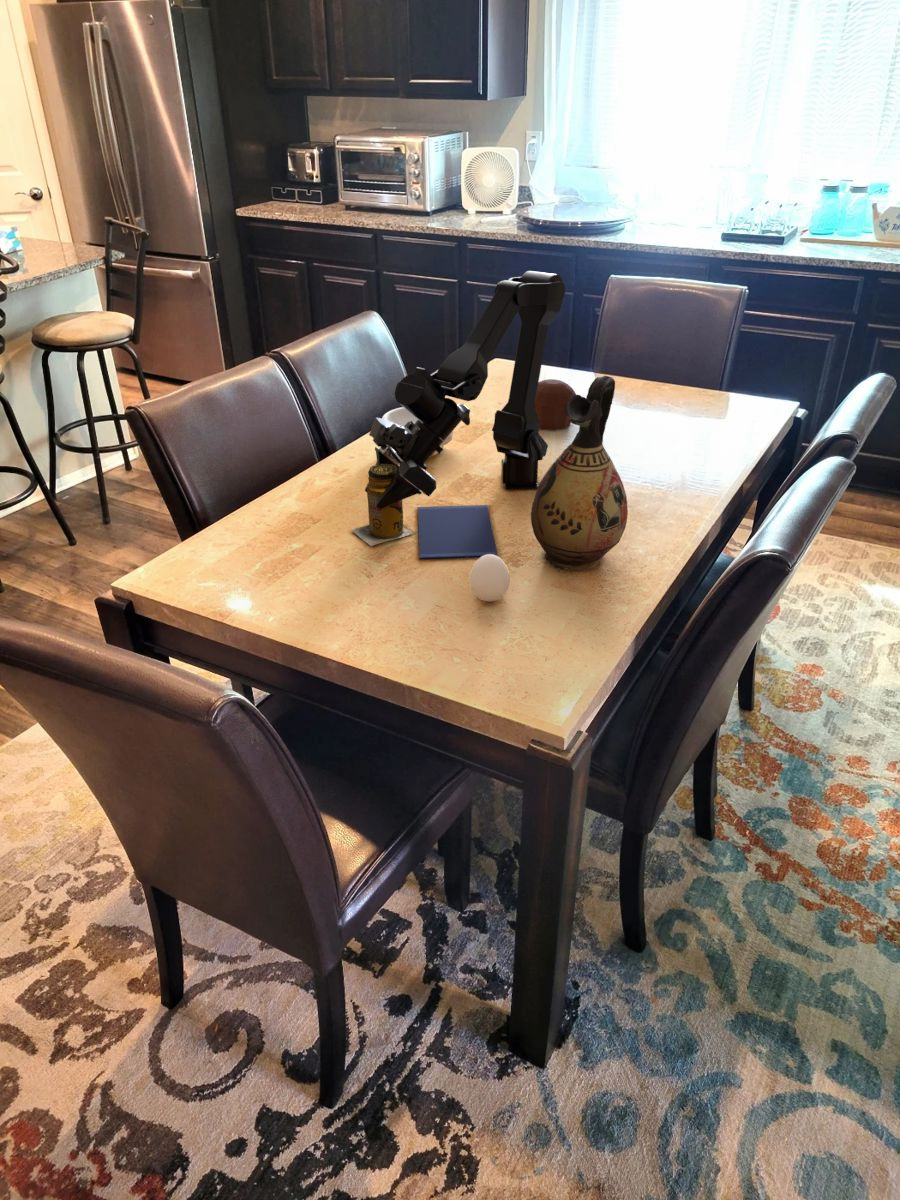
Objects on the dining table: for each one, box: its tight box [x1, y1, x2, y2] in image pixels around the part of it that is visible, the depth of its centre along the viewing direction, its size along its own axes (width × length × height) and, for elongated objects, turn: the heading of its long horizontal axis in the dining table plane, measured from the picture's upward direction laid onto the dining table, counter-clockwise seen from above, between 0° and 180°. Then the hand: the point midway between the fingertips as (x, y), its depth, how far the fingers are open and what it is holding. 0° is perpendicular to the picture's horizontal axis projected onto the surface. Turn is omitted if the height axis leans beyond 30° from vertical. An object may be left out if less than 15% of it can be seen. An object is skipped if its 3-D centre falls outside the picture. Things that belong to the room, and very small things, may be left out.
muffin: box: [535, 378, 577, 432], centre depth 196 cm, size 12×11×10 cm
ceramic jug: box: [530, 374, 629, 572], centre depth 135 cm, size 17×15×30 cm
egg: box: [469, 554, 511, 603], centre depth 129 cm, size 6×6×8 cm
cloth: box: [417, 504, 498, 561], centre depth 151 cm, size 13×20×1 cm, turn 3°
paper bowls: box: [381, 406, 454, 457], centre depth 182 cm, size 15×15×8 cm
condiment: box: [351, 464, 413, 547], centre depth 148 cm, size 7×8×12 cm
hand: (372, 499), depth 147 cm, fingers open, 6 cm apart
